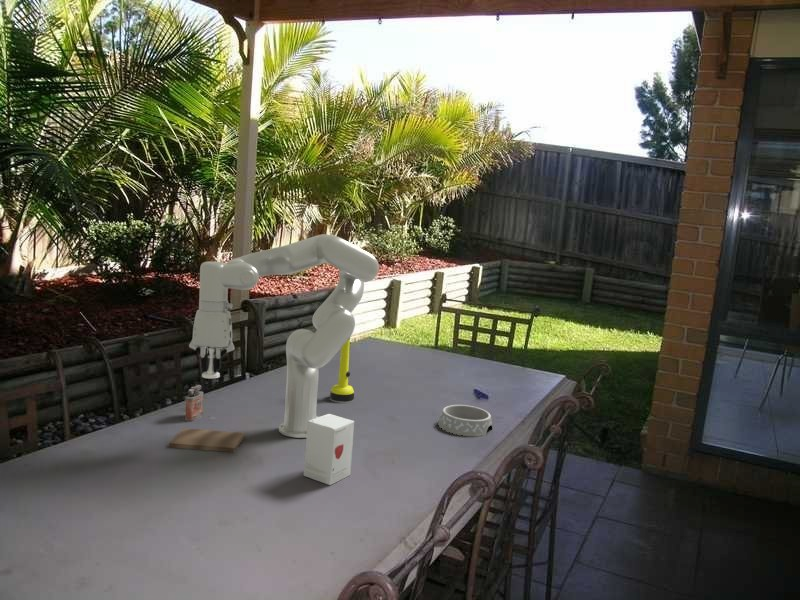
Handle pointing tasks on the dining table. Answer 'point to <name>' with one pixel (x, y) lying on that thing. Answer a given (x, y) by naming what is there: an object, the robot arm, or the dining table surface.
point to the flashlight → (343, 379)
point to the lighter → (194, 404)
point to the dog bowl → (465, 420)
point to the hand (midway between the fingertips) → (211, 370)
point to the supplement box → (328, 448)
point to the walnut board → (207, 440)
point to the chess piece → (211, 366)
